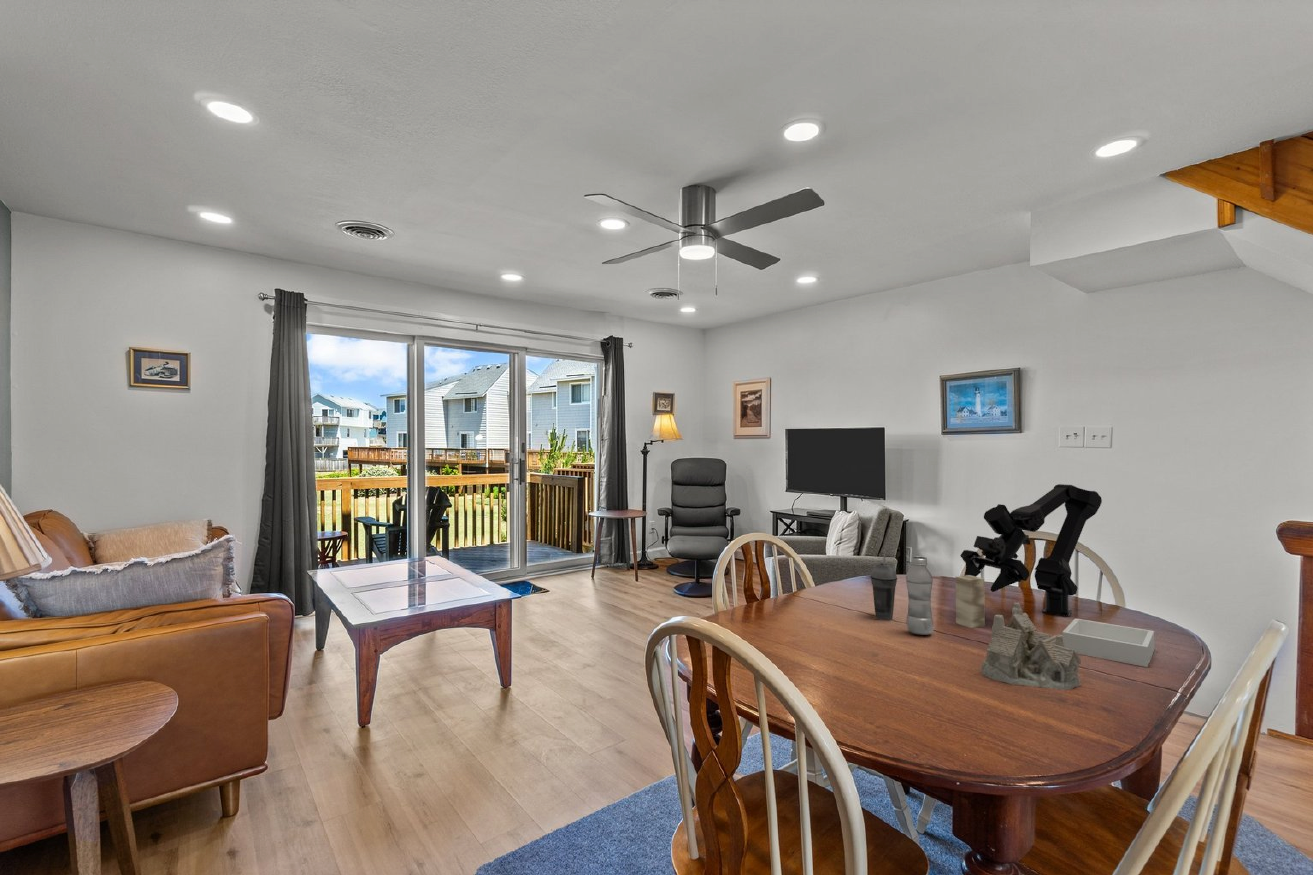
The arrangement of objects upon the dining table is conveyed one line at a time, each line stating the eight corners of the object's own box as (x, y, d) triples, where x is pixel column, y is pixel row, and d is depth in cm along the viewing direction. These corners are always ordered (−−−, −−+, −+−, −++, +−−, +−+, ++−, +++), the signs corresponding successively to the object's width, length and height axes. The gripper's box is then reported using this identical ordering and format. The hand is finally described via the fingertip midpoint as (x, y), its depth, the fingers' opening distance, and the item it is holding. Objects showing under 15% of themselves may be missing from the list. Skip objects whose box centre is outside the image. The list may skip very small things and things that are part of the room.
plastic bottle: (938, 637, 157) (937, 560, 158) (911, 637, 158) (911, 559, 158) (927, 630, 164) (927, 555, 164) (902, 630, 164) (901, 555, 164)
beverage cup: (893, 614, 179) (893, 546, 179) (901, 622, 171) (900, 550, 172) (867, 614, 179) (867, 546, 180) (874, 621, 172) (873, 550, 172)
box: (1075, 635, 159) (1075, 618, 159) (1154, 649, 148) (1154, 631, 148) (1062, 650, 147) (1062, 632, 147) (1147, 667, 136) (1147, 646, 136)
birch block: (969, 621, 172) (969, 575, 172) (984, 626, 167) (984, 578, 168) (955, 623, 170) (955, 576, 171) (970, 628, 166) (970, 580, 166)
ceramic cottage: (968, 669, 135) (973, 601, 135) (1022, 662, 141) (1027, 598, 141) (1034, 701, 121) (1040, 625, 120) (1091, 692, 127) (1097, 620, 126)
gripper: (965, 522, 181) (935, 561, 177) (1021, 530, 163) (990, 574, 159) (985, 547, 183) (956, 587, 179) (1043, 558, 166) (1013, 602, 162)
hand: (977, 587), depth 170 cm, fingers open, 9 cm apart
